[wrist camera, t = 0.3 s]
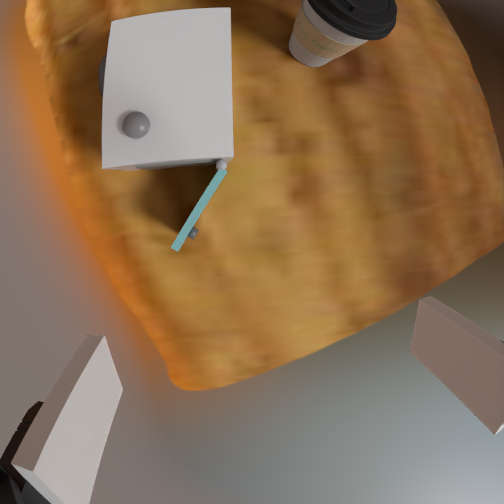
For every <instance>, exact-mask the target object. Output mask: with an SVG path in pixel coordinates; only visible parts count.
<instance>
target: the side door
mask: <svg viewBox="0 0 504 504" xmlns="http://www.w3.org/2000/svg"><path fill="white" fill-rule="evenodd" d="M226 168H227V162H226V161H225V160H219V161H218V162H217V164H216V170H217V171H218V172H217V173H216V175H215V176H214V178H213V179H212V181H211V182H210V184H209V185H208V187H207V189H206V190H205V192H204V193H203V195H202V197H201V198H200V200H199V201H198V203H197V205H196V206H195V208H194V209H193V211H192V213H191V214H190V216H189V218H188V219H187V221H186V223H185V224H184V226H183V228H182V229H181V231H180V233H179V234H178V236H177V238H176V240H175V241H174V243H173V245H172V246H171V248H172V249H174V250H176V251H177V252H178V251H179V249H180V247H181V246H182V244H183V242H184V241H185V239H186V237H187V236H188V237H190V238H191V239H194V237H195V236H196V234H197V232H198V229H197V228H195V227H193V226H194V224H195V222H196V221H197V219H198V217H199V216H200V214H201V213H202V211H203V209H204V208H205V206H206V205H207V203H208V201H209V200H210V198H211V197H212V195H213V193H214V192H215V190H216V189H217V187H218V186H219V184H220V183H221V181H222V179H223V178H224V176H225V175H226V173H227V172H228V171H227V170H225V169H226Z"/></svg>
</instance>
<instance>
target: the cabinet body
mask: <svg viewBox="0 0 504 504" xmlns="http://www.w3.org/2000/svg"><path fill="white" fill-rule="evenodd" d="M99 88H100V93H101V96H102V98H103V108H102V169H114V170H127V171H131V170H140V169H144V170H154V169H165V168H176V167H189V166H204V165H214V163H217V162H218V161H219V160H225V161H226V162H227V163H229V162H230V160H231V159H232V158H233V157H234V151H233V116H232V71H231V8H199V9H185V10H175V11H166V12H159V13H152V14H146V15H140V16H134V17H129V18H124V19H120V20H115V21H112V23H111V29H110V36H109V42H108V50H107V55H105V56H104V57H103V58H102V60H101V63H100V67H99Z"/></svg>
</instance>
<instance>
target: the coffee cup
mask: <svg viewBox="0 0 504 504" xmlns="http://www.w3.org/2000/svg"><path fill="white" fill-rule="evenodd" d="M396 15H397V6H396V3H395V0H302V3H301V6H300V8H299V11H298V14H297V17H296V20H295V22H294V26H293V32H292V35H291V38H290V41H289V50H290V52H291V54H292V55H293V56H294V58H295V59H297V60H298V61H299V62H301V63H302V64H304V65H306V66H309V67H319V66H322V65H324V64H326V63H328V62H329V61H331V60H333V59H334V58H338V57H340V56H342V55H344V54H345V53H347V52H349V51H351V50H353V49H354V48H356V47H358V46H360V45H362V44H364V43H365V42H367V41H368V40H378V39H382V38H384V37H386V36H387V35H388V34H389V33H390V32H391V31H392V30H393V28H394V27H395V24H396Z"/></svg>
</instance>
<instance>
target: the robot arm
mask: <svg viewBox="0 0 504 504" xmlns="http://www.w3.org/2000/svg"><path fill="white" fill-rule="evenodd" d="M409 351H410V352H411V353H412V354H413V355H414V356H415V357H416V358H417V359H418V360H420V362H421V363H423V364H424V365H425V366H426V367H427V368H428V369H429V370H430V371H431V372H432V373H433V374H434V375H435V376H436V377H437V378H438V379H439V380H440V381H441V382H442V383H443V384H444V385H445V386H447V388H448V389H449V390H450V391H451V392H452V393H453V394H454V395H456V397H458V398H459V399H460V400H461V401H462V402H463V403H464V404H465V405H466V406H467V407H468V408H469V409H470V410H471V411H472V412H473V414H474V415H475V416H477V418H479V420H480V421H482V423H484V425H485V426H487V428H488V429H489V430H490V431H491V432H492V433H493V434H494V435H495V434H497V433H498V432H499V431H501V430H502V428H504V342H503V341H501V340H499V339H498V338H496V337H495V336H493V335H492V334H490V333H489V332H487V331H486V330H484V329H482V328H481V327H479V326H478V325H476V324H475V323H473V322H472V321H470V320H469V319H467V318H465V317H464V316H462V315H461V314H459V313H458V312H456V311H454V310H453V309H451V308H449V307H448V306H446V305H444V304H443V303H441V302H440V301H438V300H437V299H435V298H433V297H432V296H431V297H427V298H422V299H419V305H418V311H417V316H416V322H415V327H414V331H413V336H412V340H411V345H410V349H409ZM122 391H123V388H122V386H121V383H120V380H119V377H118V374H117V372H116V369H115V366H114V363H113V360H112V357H111V354H110V351H109V348H108V345H107V341H106V338H105V335H88V336H87V337H86V338H85V340H84V341H83V343H82V344H81V346H80V347H79V349H78V350H77V352H76V353H75V354H74V356H73V358H72V359H71V360H70V362H69V363H68V365H67V366H66V368H65V369H64V371H63V373H62V374H61V376H60V377H59V379H58V380H57V382H56V384H55V385H54V387H53V389H52V390H51V392H50V393H49V395H48V397H47V398H46V400H45V402H40V401H38V402H37V403H36V404H35V405H33V406H32V407H31V408H30V409H29V410H28V411H27V413H26V414H25V416H24V418H23V419H22V423H20V425H19V426H18V428H17V431H16V432H15V433H14V435H13V437H12V438H11V440H10V442H9V444H8V446H7V447H6V449H5V452H4V453H3V455H2V457H1V459H0V504H89V502H90V498H91V494H92V490H93V486H94V482H95V478H96V475H97V470H98V467H99V464H100V460H101V456H102V453H103V450H104V446H105V443H106V440H107V436H108V433H109V430H110V427H111V424H112V420H113V418H114V414H115V412H116V409H117V405H118V403H119V400H120V397H121V394H122Z"/></svg>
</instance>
